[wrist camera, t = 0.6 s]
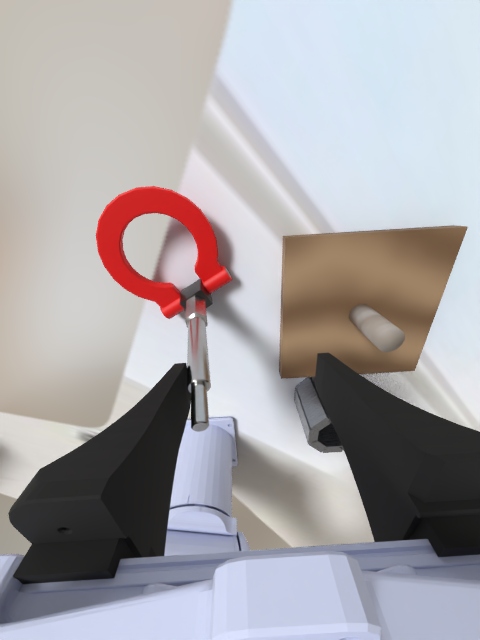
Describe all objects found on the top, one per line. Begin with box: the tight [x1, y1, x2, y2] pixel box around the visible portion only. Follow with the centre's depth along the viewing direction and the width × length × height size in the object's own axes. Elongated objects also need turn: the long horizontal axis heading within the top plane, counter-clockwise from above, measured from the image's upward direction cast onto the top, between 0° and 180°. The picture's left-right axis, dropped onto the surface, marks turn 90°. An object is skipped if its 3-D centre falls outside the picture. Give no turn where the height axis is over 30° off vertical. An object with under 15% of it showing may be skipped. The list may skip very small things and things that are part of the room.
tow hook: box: [96, 186, 232, 432], centre depth 13 cm, size 8×13×9 cm
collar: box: [294, 377, 344, 453], centre depth 24 cm, size 5×5×6 cm
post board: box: [279, 226, 467, 378], centre depth 19 cm, size 14×14×6 cm
